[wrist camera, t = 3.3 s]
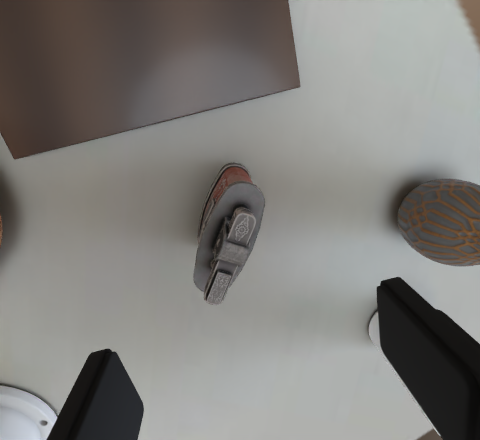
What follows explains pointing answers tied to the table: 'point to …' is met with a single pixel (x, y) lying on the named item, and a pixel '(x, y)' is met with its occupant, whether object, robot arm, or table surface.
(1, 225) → the ceramic jug
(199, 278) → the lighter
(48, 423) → the robot arm
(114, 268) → the table surface
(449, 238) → the vase
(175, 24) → the walnut board
